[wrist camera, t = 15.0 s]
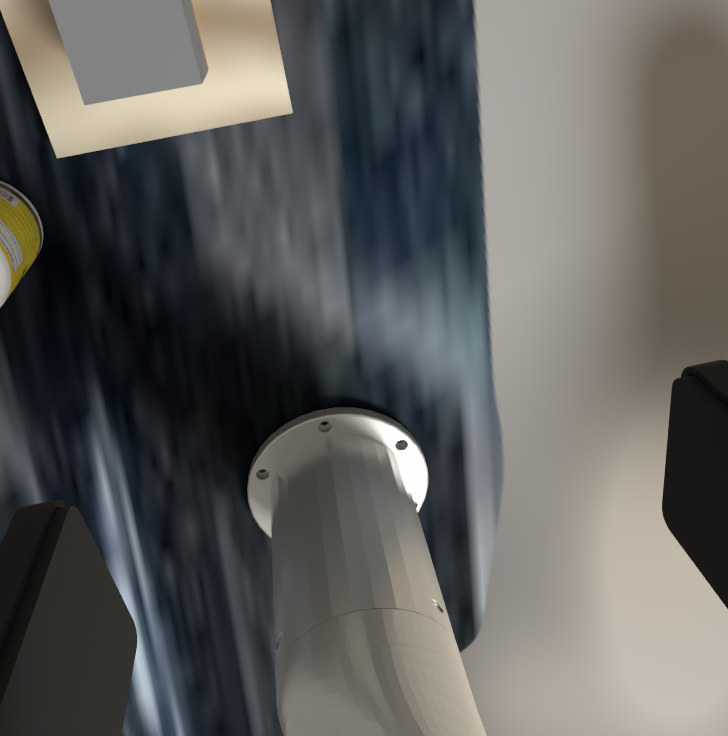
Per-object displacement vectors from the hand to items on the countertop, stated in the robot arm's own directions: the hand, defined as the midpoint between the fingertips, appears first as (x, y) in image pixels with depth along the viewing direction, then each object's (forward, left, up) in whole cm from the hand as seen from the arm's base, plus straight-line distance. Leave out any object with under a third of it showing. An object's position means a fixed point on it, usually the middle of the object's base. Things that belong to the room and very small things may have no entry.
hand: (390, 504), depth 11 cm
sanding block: (+8, +6, -29) cm, 30 cm away
